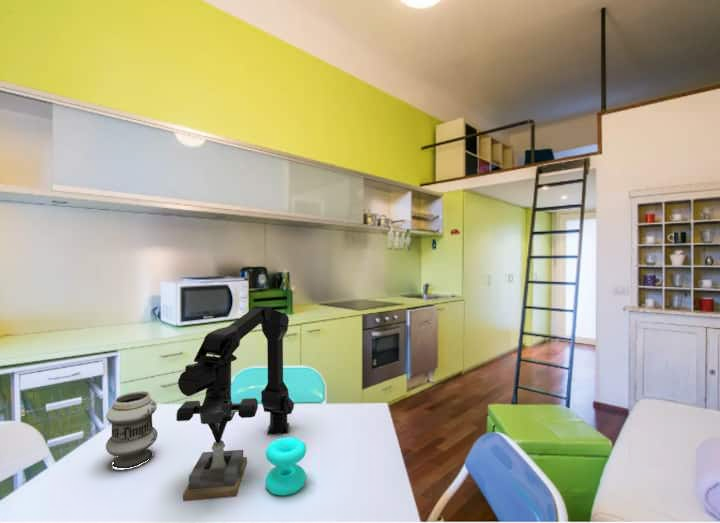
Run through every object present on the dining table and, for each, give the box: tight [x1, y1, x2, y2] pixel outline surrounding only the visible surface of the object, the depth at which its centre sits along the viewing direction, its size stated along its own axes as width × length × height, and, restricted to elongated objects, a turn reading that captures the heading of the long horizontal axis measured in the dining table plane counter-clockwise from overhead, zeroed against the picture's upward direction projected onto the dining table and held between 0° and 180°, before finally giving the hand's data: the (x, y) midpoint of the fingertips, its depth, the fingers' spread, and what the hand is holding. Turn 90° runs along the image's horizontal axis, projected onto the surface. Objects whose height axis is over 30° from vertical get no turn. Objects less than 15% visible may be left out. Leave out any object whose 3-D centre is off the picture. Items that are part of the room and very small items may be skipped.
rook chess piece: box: [210, 439, 227, 469], centre depth 88 cm, size 4×4×8 cm
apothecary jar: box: [105, 390, 158, 468], centre depth 96 cm, size 12×12×18 cm
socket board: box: [182, 449, 248, 502], centre depth 88 cm, size 14×12×4 cm
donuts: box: [264, 436, 307, 496], centre depth 86 cm, size 10×10×10 cm
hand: (218, 442), depth 88 cm, fingers closed
